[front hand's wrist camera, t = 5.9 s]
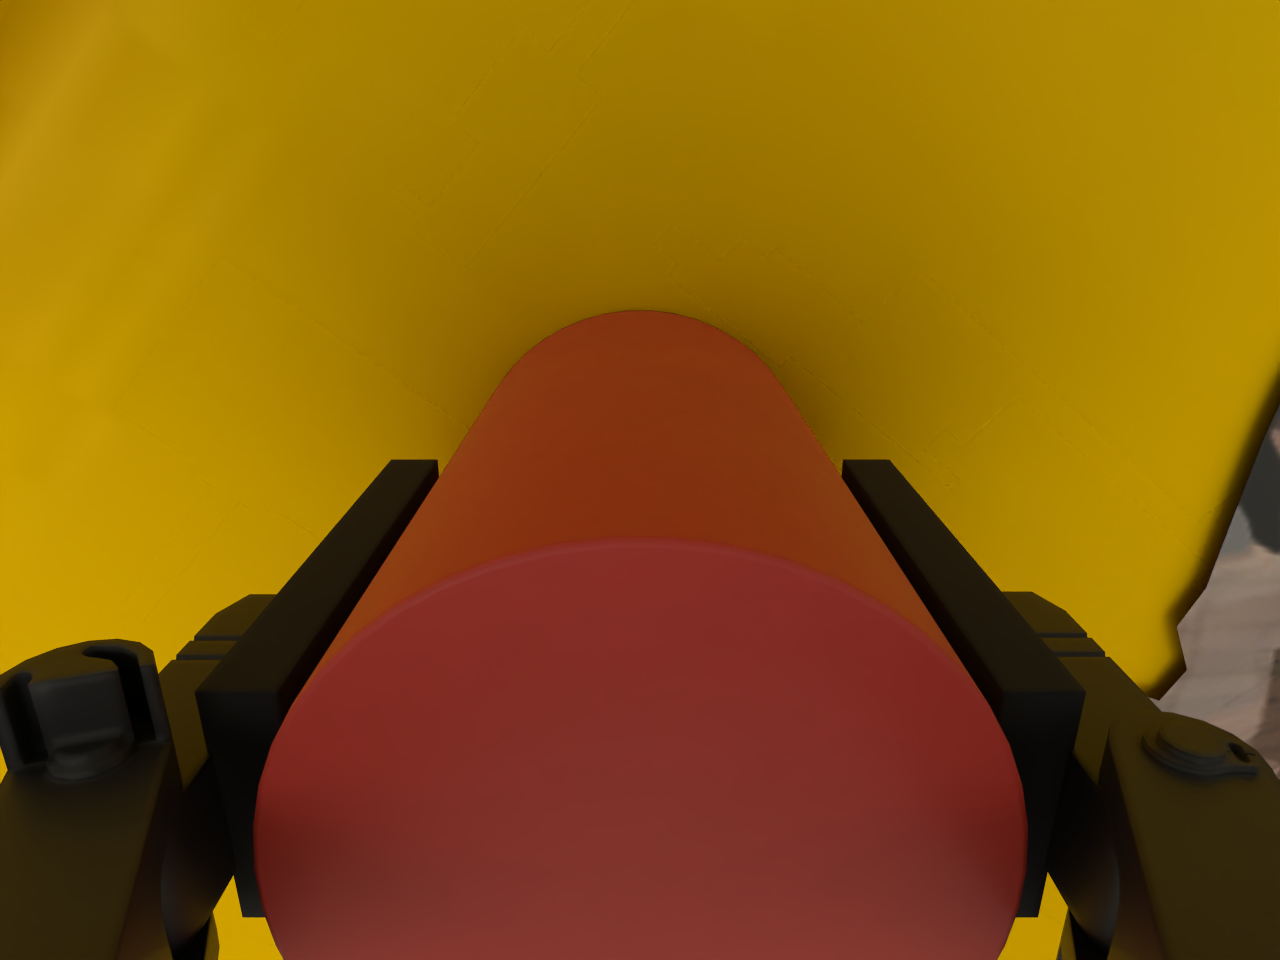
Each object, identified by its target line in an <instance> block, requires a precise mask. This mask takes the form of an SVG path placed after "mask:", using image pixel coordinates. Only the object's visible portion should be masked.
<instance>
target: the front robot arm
mask: <svg viewBox="0 0 1280 960" xmlns="http://www.w3.org/2000/svg"><path fill="white" fill-rule="evenodd" d="M438 478H439V472H438V460H391V461H390V462H389V463H388V464H387V465H386V467H385V468H384V469H383V470H382V471H381V472H380V474H379V475H378V476H377V477H376V478H375V480H374V481H373V482H372V483H371V484H370V485H369V487H368V488H367V489H366V490H365V491H364V493H363V494H362V495H361V496H360V497H359V498H358V500H357V501H356V502H355V503H354V504H353V505H352V507H351V508H350V509H349V510H348V511H347V513H346V514H345V515H344V516H343V517H342V518H341V520H340V521H339V522H338V523H337V524H336V525H335V527H334V528H333V529H332V530H331V531H330V533H329V534H328V535H327V536H326V537H325V538H324V540H323V541H322V542H321V543H320V544H319V545H318V547H317V548H316V549H315V550H314V551H313V553H312V554H311V555H310V556H309V557H308V558H307V560H306V561H305V562H304V563H303V564H302V566H301V567H300V568H299V569H298V570H297V571H296V573H295V574H294V575H293V576H292V577H291V578H290V580H289V581H288V582H287V583H286V584H285V586H284V587H283V588H282V589H281V590H280V591H279V593H278V594H250V595H248V596H246V597H244V598H242V599H241V600H239V601H237V602H235V603H234V604H232V605H230V606H228V607H227V608H225V609H223V610H221V611H220V612H218V613H216V614H215V615H214V616H213V617H212V618H211V619H210V620H209V621H208V622H207V623H206V624H205V626H204V627H203V628H202V629H201V630H200V631H199V632H198V633H197V634H196V635H195V636H194V641H189V642H188V643H187V644H186V646H185V647H184V648H183V649H182V650H181V651H180V652H179V653H178V654H177V655H176V660H171V661H170V662H169V663H168V665H167V666H166V667H165V668H164V669H163V670H162V671H161V672H160V673H159V674H158V671H157V667H156V662H155V658H154V654H153V651H152V650H151V649H149V648H148V647H146V646H145V645H143V644H142V643H140V642H135V641H128V640H122V639H109V640H94V641H86V642H82V643H77V644H73V645H69V646H64V647H60V648H56V649H54V650H51V651H48V652H46V653H43V654H41V655H38V656H35V657H33V658H30V659H27V660H25V661H23V662H22V663H20V664H18V665H17V666H15V667H13V668H11V669H10V670H8V671H6V672H5V673H3V674H1V675H0V747H1V750H2V753H3V757H4V760H5V763H6V766H7V769H8V771H7V772H6V774H5V776H4V778H3V780H2V782H1V783H0V960H218V954H219V940H218V934H217V928H216V923H215V919H214V915H213V910H214V908H215V906H216V904H217V903H218V901H219V899H220V897H221V896H222V894H223V892H224V890H225V889H226V887H227V885H228V883H229V882H230V880H231V878H232V877H233V875H234V879H235V883H236V888H237V893H238V897H239V902H240V907H241V911H242V916H243V917H265V915H264V912H263V910H262V905H261V900H260V896H259V891H258V886H257V881H256V876H255V871H254V844H253V822H254V815H255V808H256V801H257V793H258V786H259V782H260V779H261V776H262V773H263V770H264V766H265V763H266V760H267V757H268V754H269V751H270V748H271V744H272V742H273V740H274V738H275V737H276V735H277V733H278V731H279V729H280V727H281V725H282V723H283V721H284V719H285V717H286V715H287V713H288V711H289V709H290V707H291V705H292V704H293V702H294V701H295V699H296V698H297V696H298V695H299V693H300V691H301V690H302V688H303V687H304V685H305V684H306V682H307V681H308V679H309V678H310V676H311V674H312V673H313V671H314V670H315V668H316V667H317V665H318V664H319V662H320V661H321V659H322V657H323V656H324V654H325V653H326V651H327V650H328V648H329V647H330V645H331V644H332V642H333V640H334V639H335V637H336V636H337V634H338V633H339V631H340V630H341V628H342V627H343V625H344V623H345V622H346V620H347V619H348V617H349V616H350V614H351V613H352V611H353V610H354V608H355V606H356V605H357V603H358V602H359V600H360V599H361V597H362V596H363V594H364V593H365V591H366V589H367V588H368V586H369V585H370V583H371V582H372V580H373V579H374V577H375V576H376V574H377V572H378V571H379V569H380V568H381V566H382V565H383V563H384V562H385V560H386V559H387V557H388V555H389V554H390V552H391V551H392V549H393V548H394V546H395V545H396V543H397V542H398V540H399V538H400V537H401V535H402V534H403V532H404V531H405V529H406V528H407V526H408V525H409V523H410V521H411V520H412V518H413V517H414V515H415V514H416V512H417V511H418V509H419V508H420V506H421V505H422V503H423V501H424V500H425V498H426V497H427V495H428V494H429V492H430V491H431V489H432V488H433V486H434V484H435V483H436V481H437V480H438ZM842 479H843V480H844V482H845V484H846V485H847V487H848V488H849V490H850V491H851V493H852V494H853V496H854V497H855V499H856V500H857V502H858V504H859V505H860V507H861V508H862V510H863V511H864V513H865V514H866V516H867V517H868V519H869V521H870V522H871V524H872V525H873V527H874V528H875V530H876V531H877V533H878V534H879V536H880V537H881V539H882V541H883V542H884V544H885V545H886V547H887V548H888V550H889V551H890V553H891V554H892V556H893V557H894V559H895V561H896V562H897V564H898V565H899V567H900V568H901V570H902V571H903V573H904V574H905V576H906V577H907V579H908V581H909V582H910V584H911V585H912V587H913V588H914V590H915V591H916V593H917V594H918V596H919V598H920V599H921V601H922V602H923V604H924V605H925V607H926V608H927V610H928V611H929V613H930V614H931V616H932V618H933V619H934V621H935V622H936V624H937V625H938V627H939V628H940V630H941V631H942V633H943V634H944V636H945V638H946V639H947V641H948V642H949V644H950V645H951V647H952V648H953V650H954V651H955V653H956V655H957V656H958V658H959V659H960V661H961V662H962V664H963V665H964V667H965V668H966V670H967V671H968V673H969V675H970V676H971V678H972V679H973V681H974V682H975V684H976V685H977V687H978V688H979V690H980V691H981V693H982V695H983V696H984V698H985V699H986V701H987V702H988V704H989V705H990V707H991V709H992V711H993V713H994V715H995V717H996V719H997V721H998V723H999V725H1000V727H1001V729H1002V731H1003V733H1004V735H1005V737H1006V739H1007V741H1008V742H1009V744H1010V747H1011V751H1012V754H1013V757H1014V760H1015V763H1016V766H1017V770H1018V773H1019V776H1020V779H1021V782H1022V786H1023V793H1024V801H1025V808H1026V816H1027V823H1028V843H1027V871H1026V875H1025V880H1024V885H1023V890H1022V895H1021V900H1020V905H1019V909H1018V912H1017V915H1016V917H1038V914H1039V910H1040V905H1041V900H1042V896H1043V891H1044V886H1045V882H1046V877H1047V872H1048V873H1049V875H1050V876H1051V878H1052V880H1053V882H1054V883H1055V885H1056V887H1057V888H1058V890H1059V892H1060V894H1061V895H1062V897H1063V899H1064V901H1065V902H1066V904H1067V906H1068V910H1067V915H1066V919H1065V923H1064V928H1063V932H1062V936H1061V941H1060V945H1059V949H1058V954H1057V958H1056V960H1280V779H1277V777H1276V775H1275V773H1274V771H1273V769H1272V768H1271V767H1270V765H1269V764H1268V763H1267V762H1266V761H1265V759H1264V758H1263V757H1262V756H1261V755H1260V753H1259V752H1258V751H1257V750H1256V749H1254V748H1253V747H1251V746H1250V745H1248V744H1247V743H1245V742H1244V741H1242V740H1241V739H1240V738H1238V737H1237V736H1235V735H1234V734H1232V733H1230V732H1228V731H1225V730H1223V729H1221V728H1219V727H1216V726H1214V725H1212V724H1210V723H1208V722H1205V721H1203V720H1199V719H1195V718H1192V717H1188V716H1184V715H1180V714H1177V713H1173V712H1162V711H1161V710H1160V709H1159V708H1158V707H1157V706H1156V705H1155V704H1154V703H1153V702H1152V701H1151V700H1150V699H1149V698H1148V697H1147V696H1146V694H1145V693H1144V692H1143V691H1142V690H1141V689H1140V688H1139V687H1138V686H1137V685H1136V684H1135V683H1134V682H1133V681H1132V680H1131V679H1130V678H1129V677H1128V676H1127V675H1126V674H1125V673H1124V671H1123V670H1122V669H1121V668H1120V667H1119V666H1118V665H1117V664H1116V663H1115V662H1114V661H1113V660H1112V659H1111V658H1110V657H1105V652H1104V651H1103V650H1102V649H1101V647H1100V646H1099V645H1098V644H1097V643H1096V642H1095V641H1094V640H1093V639H1092V638H1087V633H1086V632H1085V631H1084V630H1083V629H1082V628H1081V627H1080V626H1079V624H1078V623H1077V622H1076V621H1075V620H1074V619H1073V618H1072V617H1071V616H1070V615H1069V614H1068V613H1067V612H1066V611H1065V610H1063V609H1061V608H1059V607H1058V606H1056V605H1054V604H1052V603H1051V602H1049V601H1047V600H1045V599H1044V598H1042V597H1040V596H1038V595H1036V594H1035V593H1033V592H1001V591H1000V590H999V588H998V587H997V586H996V585H995V584H994V582H993V581H992V580H991V579H990V578H989V577H988V575H987V574H986V573H985V572H984V571H983V570H982V568H981V567H980V566H979V565H978V564H977V562H976V561H975V560H974V559H973V558H972V557H971V555H970V554H969V553H968V552H967V551H966V549H965V548H964V547H963V546H962V545H961V544H960V542H959V541H958V540H957V539H956V538H955V537H954V535H953V534H952V533H951V532H950V531H949V529H948V528H947V527H946V526H945V525H944V524H943V522H942V521H941V520H940V519H939V518H938V517H937V515H936V514H935V513H934V512H933V511H932V509H931V508H930V507H929V506H928V505H927V504H926V502H925V501H924V500H923V499H922V498H921V497H920V495H919V494H918V493H917V492H916V491H915V489H914V488H913V487H912V486H911V485H910V484H909V482H908V481H907V480H906V479H905V478H904V476H903V475H902V474H901V473H900V472H899V471H898V469H897V468H896V467H895V466H894V465H893V464H892V462H891V461H890V460H843V467H842Z"/></svg>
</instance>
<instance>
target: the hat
mask: <svg viewBox="0 0 1280 960" xmlns="http://www.w3.org/2000/svg"><path fill="white" fill-rule="evenodd" d="M1177 630H1178V634H1179V638H1180V643H1181V647H1182V651H1183V655H1184V659H1185V663H1186V667H1187V671H1186V672H1185V673H1184V674H1183V675H1182V676H1181V677H1180V678H1179V679H1178V681H1177V682H1176V683H1175V684H1174V685H1173V686H1172V687H1171V688H1170V689H1169V691H1168V692H1167V693H1166V694H1165V695H1164V696H1163V697H1162V698H1161V699H1160V700H1155V699H1152V698H1149V697H1148V698H1149V699H1150V700H1151V701H1152V702H1153V703H1154V704H1155V705H1156V706H1157V707H1158V708H1159V709H1160V710H1161V711H1162V712H1173V713H1177V714H1180V715H1184V716H1188V717H1192V718H1195V719H1199V720H1203V721H1205V722H1208V723H1210V724H1212V725H1214V726H1216V727H1219V728H1221V729H1223V730H1225V731H1228V732H1230V733H1232V734H1234V735H1235V736H1237V737H1238V738H1240V739H1241V740H1242V741H1244V742H1245V743H1247V744H1248V745H1250V746H1251V747H1253V748H1254V749H1256V750H1257V751H1258V752H1259V753H1260V755H1261V756H1262V757H1263V758H1264V759H1265V761H1266V762H1267V763H1268V764H1269V765H1270V767H1271V768H1272V769H1273V771H1274V773H1275V775H1276V777H1277V779H1280V405H1279V407H1278V409H1277V411H1276V414H1275V416H1274V418H1273V420H1272V422H1271V425H1270V427H1269V429H1268V431H1267V433H1266V435H1265V438H1264V440H1263V442H1262V445H1261V447H1260V450H1259V453H1258V455H1257V458H1256V460H1255V463H1254V465H1253V468H1252V471H1251V473H1250V476H1249V478H1248V481H1247V483H1246V486H1245V488H1244V491H1243V494H1242V496H1241V499H1240V501H1239V504H1238V506H1237V509H1236V511H1235V514H1234V517H1233V519H1232V522H1231V524H1230V527H1229V530H1228V532H1227V535H1226V537H1225V540H1224V543H1223V545H1222V548H1221V551H1220V553H1219V556H1218V558H1217V561H1216V564H1215V566H1214V569H1213V571H1212V574H1211V577H1210V579H1209V582H1208V585H1207V587H1206V589H1205V590H1204V591H1203V593H1202V594H1201V595H1200V597H1199V598H1198V599H1197V601H1196V602H1195V603H1194V605H1193V606H1192V607H1191V609H1190V610H1189V611H1188V613H1187V614H1186V615H1185V617H1184V618H1183V619H1182V621H1181V622H1180V623H1179V625H1178V626H1177Z"/></svg>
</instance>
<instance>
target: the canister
mask: <svg viewBox="0 0 1280 960" xmlns="http://www.w3.org/2000/svg"><path fill="white" fill-rule="evenodd" d="M1027 843H1028V823H1027V816H1026V808H1025V801H1024V793H1023V786H1022V782H1021V779H1020V776H1019V773H1018V770H1017V766H1016V763H1015V760H1014V757H1013V754H1012V751H1011V747H1010V744H1009V742H1008V741H1007V739H1006V737H1005V735H1004V733H1003V731H1002V729H1001V727H1000V725H999V723H998V721H997V719H996V717H995V715H994V713H993V711H992V709H991V707H990V705H989V704H988V702H987V701H986V699H985V698H984V696H983V695H982V693H981V691H980V690H979V688H978V687H977V685H976V684H975V682H974V681H973V679H972V678H971V676H970V675H969V673H968V671H967V670H966V668H965V667H964V665H963V664H962V662H961V661H960V659H959V658H958V656H957V655H956V653H955V651H954V650H953V648H952V647H951V645H950V644H949V642H948V641H947V639H946V638H945V636H944V634H943V633H942V631H941V630H940V628H939V627H938V625H937V624H936V622H935V621H934V619H933V618H932V616H931V614H930V613H929V611H928V610H927V608H926V607H925V605H924V604H923V602H922V601H921V599H920V598H919V596H918V594H917V593H916V591H915V590H914V588H913V587H912V585H911V584H910V582H909V581H908V579H907V577H906V576H905V574H904V573H903V571H902V570H901V568H900V567H899V565H898V564H897V562H896V561H895V559H894V557H893V556H892V554H891V553H890V551H889V550H888V548H887V547H886V545H885V544H884V542H883V541H882V539H881V537H880V536H879V534H878V533H877V531H876V530H875V528H874V527H873V525H872V524H871V522H870V521H869V519H868V517H867V516H866V514H865V513H864V511H863V510H862V508H861V507H860V505H859V504H858V502H857V500H856V499H855V497H854V496H853V494H852V493H851V491H850V490H849V488H848V487H847V485H846V484H845V482H844V480H843V479H842V477H841V476H840V474H839V473H838V471H837V470H836V468H835V467H834V465H833V464H832V462H831V460H830V459H829V457H828V456H827V454H826V453H825V451H824V450H823V448H822V447H821V445H820V443H819V442H818V440H817V439H816V437H815V436H814V434H813V433H812V431H811V430H810V428H809V427H808V425H807V423H806V422H805V420H804V419H803V417H802V416H801V414H800V413H799V411H798V410H797V408H796V407H795V405H794V403H793V402H792V400H791V399H790V397H789V396H788V394H787V393H786V391H785V390H784V388H783V387H782V385H781V384H780V382H779V381H778V380H777V378H776V377H775V376H774V374H773V373H772V371H771V370H770V369H769V368H768V367H767V366H766V365H765V364H764V363H763V362H762V361H761V360H760V359H759V358H758V356H757V355H756V354H754V353H753V352H752V351H751V350H749V349H748V348H747V347H746V346H744V345H743V344H742V343H741V342H739V341H738V340H736V339H735V338H733V337H731V336H730V335H728V334H726V333H725V332H723V331H721V330H719V329H718V328H715V327H713V326H711V325H708V324H706V323H703V322H701V321H699V320H696V319H692V318H688V317H685V316H681V315H677V314H672V313H665V312H657V311H623V312H616V313H608V314H603V315H599V316H596V317H592V318H588V319H585V320H582V321H579V322H577V323H575V324H572V325H570V326H568V327H565V328H563V329H561V330H559V331H558V332H556V333H554V334H552V335H551V336H549V337H547V338H546V339H544V340H542V341H541V342H540V343H539V344H537V345H536V346H535V347H534V348H532V349H531V350H530V351H528V352H527V353H526V354H525V355H524V356H523V357H522V358H521V359H520V360H519V361H518V362H517V363H516V364H515V365H514V366H513V367H512V368H511V369H510V371H509V372H508V373H507V375H506V376H505V377H504V379H503V380H502V382H501V383H500V384H499V386H498V387H497V389H496V390H495V392H494V393H493V395H492V396H491V398H490V399H489V401H488V403H487V404H486V406H485V407H484V409H483V410H482V412H481V413H480V415H479V416H478V418H477V420H476V421H475V423H474V424H473V426H472V427H471V429H470V430H469V432H468V433H467V435H466V437H465V438H464V440H463V441H462V443H461V444H460V446H459V447H458V449H457V450H456V452H455V454H454V455H453V457H452V458H451V460H450V461H449V463H448V464H447V466H446V467H445V469H444V471H443V472H442V474H441V475H440V477H439V478H438V480H437V481H436V483H435V484H434V486H433V488H432V489H431V491H430V492H429V494H428V495H427V497H426V498H425V500H424V501H423V503H422V505H421V506H420V508H419V509H418V511H417V512H416V514H415V515H414V517H413V518H412V520H411V521H410V523H409V525H408V526H407V528H406V529H405V531H404V532H403V534H402V535H401V537H400V538H399V540H398V542H397V543H396V545H395V546H394V548H393V549H392V551H391V552H390V554H389V555H388V557H387V559H386V560H385V562H384V563H383V565H382V566H381V568H380V569H379V571H378V572H377V574H376V576H375V577H374V579H373V580H372V582H371V583H370V585H369V586H368V588H367V589H366V591H365V593H364V594H363V596H362V597H361V599H360V600H359V602H358V603H357V605H356V606H355V608H354V610H353V611H352V613H351V614H350V616H349V617H348V619H347V620H346V622H345V623H344V625H343V627H342V628H341V630H340V631H339V633H338V634H337V636H336V637H335V639H334V640H333V642H332V644H331V645H330V647H329V648H328V650H327V651H326V653H325V654H324V656H323V657H322V659H321V661H320V662H319V664H318V665H317V667H316V668H315V670H314V671H313V673H312V674H311V676H310V678H309V679H308V681H307V682H306V684H305V685H304V687H303V688H302V690H301V691H300V693H299V695H298V696H297V698H296V699H295V701H294V702H293V704H292V705H291V707H290V709H289V711H288V713H287V715H286V717H285V719H284V721H283V723H282V725H281V727H280V729H279V731H278V733H277V735H276V737H275V738H274V740H273V742H272V744H271V748H270V751H269V754H268V757H267V760H266V763H265V766H264V770H263V773H262V776H261V779H260V782H259V786H258V793H257V801H256V808H255V815H254V822H253V844H254V871H255V876H256V881H257V886H258V891H259V896H260V900H261V905H262V910H263V912H264V915H265V918H266V920H267V923H268V926H269V928H270V931H271V934H272V936H273V939H274V942H275V944H276V946H277V948H278V950H279V952H280V954H281V955H282V957H283V959H284V960H997V959H998V957H999V955H1000V953H1001V952H1002V950H1003V948H1004V946H1005V944H1006V941H1007V939H1008V936H1009V933H1010V931H1011V928H1012V925H1013V923H1014V920H1015V917H1016V915H1017V912H1018V909H1019V905H1020V900H1021V895H1022V890H1023V885H1024V880H1025V875H1026V871H1027Z"/></svg>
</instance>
